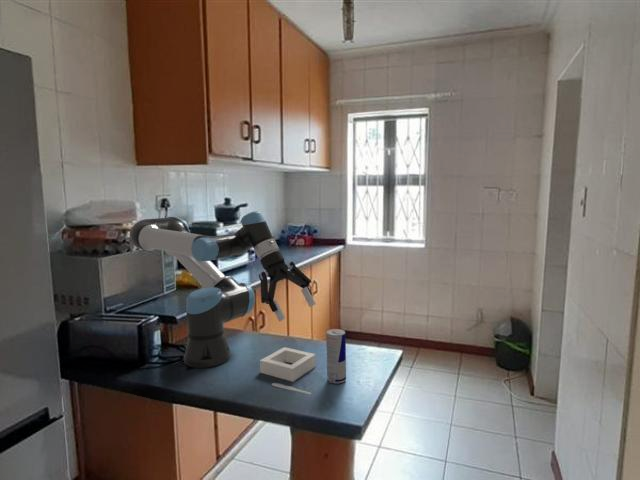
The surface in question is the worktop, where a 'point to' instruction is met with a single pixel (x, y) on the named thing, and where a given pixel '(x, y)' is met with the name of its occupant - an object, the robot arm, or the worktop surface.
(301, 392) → the butter knife
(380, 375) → the worktop surface
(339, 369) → the beverage can
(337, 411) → the worktop surface
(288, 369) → the socket block
